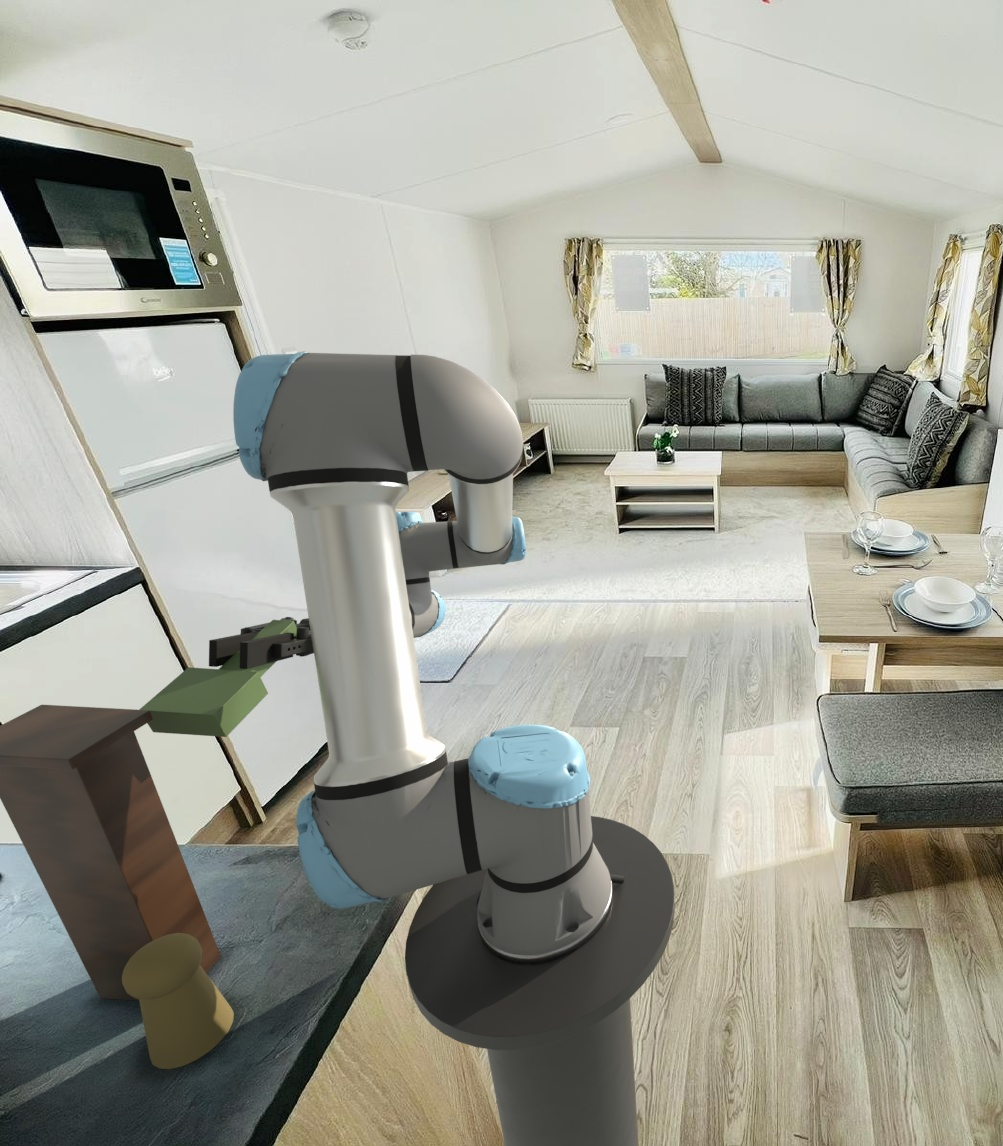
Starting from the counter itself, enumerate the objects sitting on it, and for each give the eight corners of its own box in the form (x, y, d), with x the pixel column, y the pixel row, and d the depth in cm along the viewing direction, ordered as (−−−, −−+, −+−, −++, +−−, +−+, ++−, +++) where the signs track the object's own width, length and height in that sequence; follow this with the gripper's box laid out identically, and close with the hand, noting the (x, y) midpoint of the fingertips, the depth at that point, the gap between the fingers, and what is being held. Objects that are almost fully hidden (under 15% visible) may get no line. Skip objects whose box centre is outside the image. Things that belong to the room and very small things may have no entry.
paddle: (321, 638, 74) (312, 618, 72) (226, 737, 61) (213, 715, 60) (260, 634, 74) (250, 613, 72) (152, 732, 61) (138, 710, 60)
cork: (188, 1076, 57) (149, 990, 53) (131, 1061, 58) (89, 976, 54) (250, 1009, 62) (219, 927, 58) (197, 997, 63) (163, 915, 59)
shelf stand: (238, 948, 68) (150, 709, 57) (180, 1014, 62) (68, 759, 51) (146, 942, 68) (41, 704, 57) (79, 1008, 62) (-55, 752, 51)
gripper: (313, 592, 88) (152, 613, 65) (425, 600, 89) (305, 623, 65) (311, 646, 89) (151, 685, 65) (423, 653, 89) (303, 695, 65)
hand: (228, 654), depth 65 cm, fingers closed on paddle, 2 cm apart
